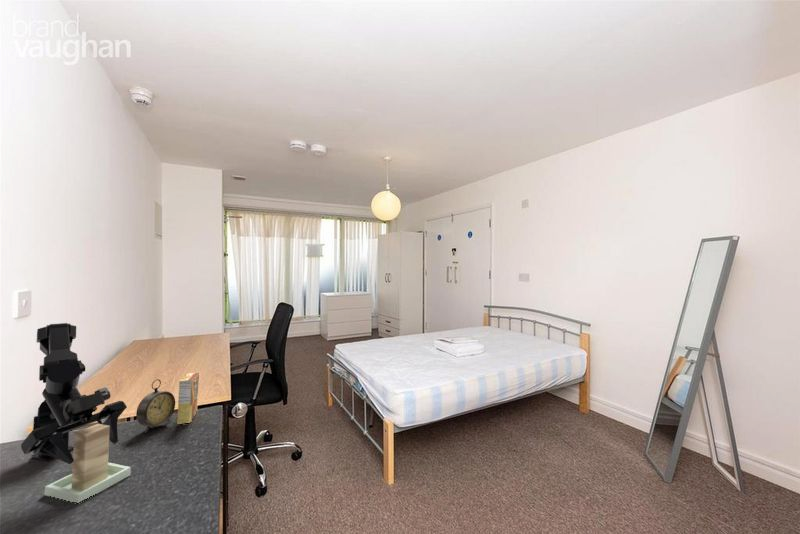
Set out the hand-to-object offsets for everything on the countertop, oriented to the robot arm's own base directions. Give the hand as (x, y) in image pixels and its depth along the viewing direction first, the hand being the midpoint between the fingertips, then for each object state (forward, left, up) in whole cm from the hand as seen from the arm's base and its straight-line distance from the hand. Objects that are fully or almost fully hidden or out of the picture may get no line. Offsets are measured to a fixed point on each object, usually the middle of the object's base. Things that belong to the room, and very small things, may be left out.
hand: (95, 452), depth 78 cm
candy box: (-10, +35, -8) cm, 37 cm away
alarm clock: (-15, +27, -8) cm, 32 cm away
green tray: (-1, 0, -8) cm, 8 cm away
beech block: (-1, 0, -8) cm, 8 cm away
